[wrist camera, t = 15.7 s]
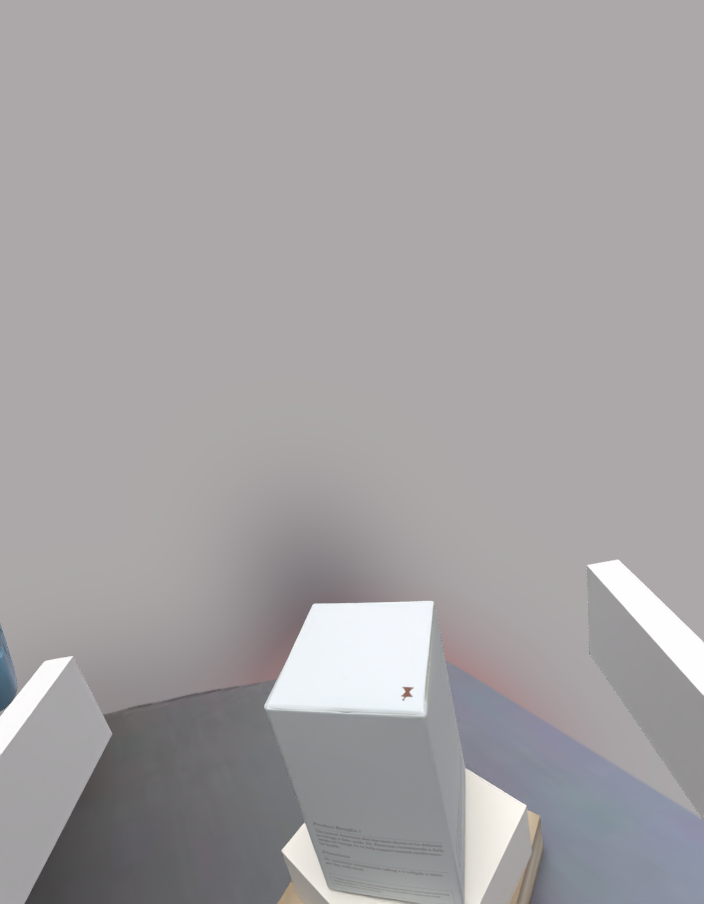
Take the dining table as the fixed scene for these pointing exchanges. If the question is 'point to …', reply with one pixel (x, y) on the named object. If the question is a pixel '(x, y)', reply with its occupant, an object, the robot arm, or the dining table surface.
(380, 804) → the supplement box
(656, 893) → the dining table surface
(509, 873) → the tower top block
